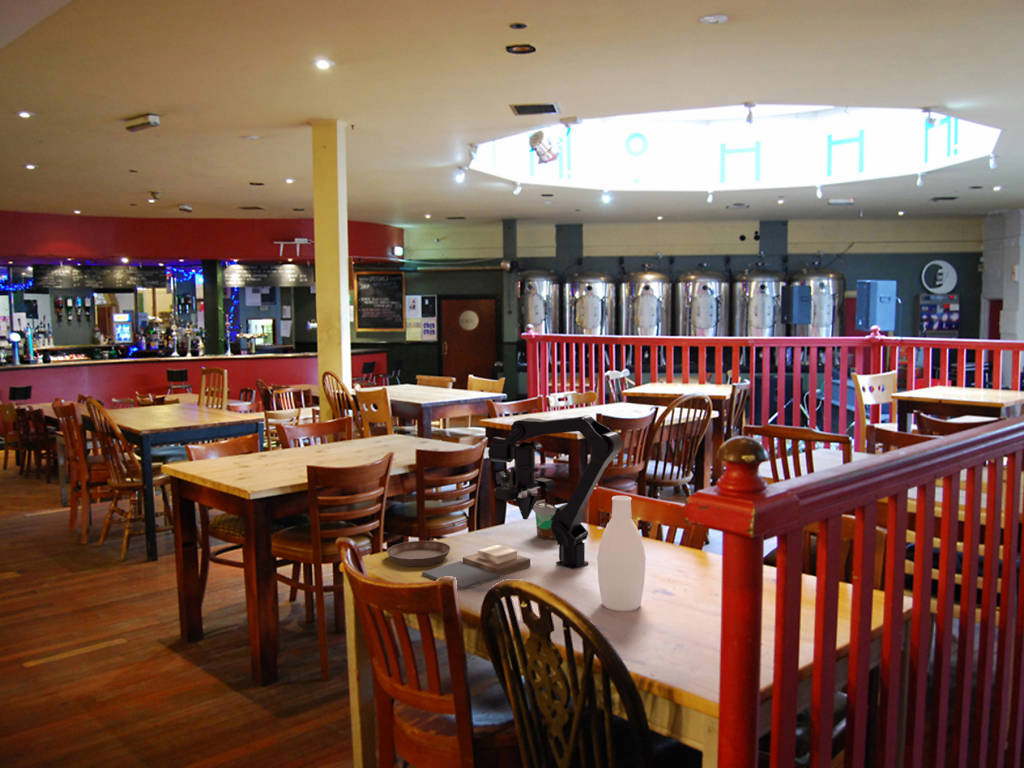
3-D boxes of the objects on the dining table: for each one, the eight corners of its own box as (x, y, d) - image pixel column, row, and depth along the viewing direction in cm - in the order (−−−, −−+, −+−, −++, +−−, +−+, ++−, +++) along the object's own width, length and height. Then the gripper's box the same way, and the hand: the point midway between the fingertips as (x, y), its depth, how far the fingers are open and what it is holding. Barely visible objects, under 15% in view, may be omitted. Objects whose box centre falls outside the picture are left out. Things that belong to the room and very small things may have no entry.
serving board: (530, 566, 214) (530, 558, 214) (497, 576, 206) (497, 569, 205) (495, 555, 224) (495, 548, 224) (462, 564, 216) (462, 557, 216)
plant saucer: (378, 555, 225) (378, 545, 225) (436, 546, 234) (436, 536, 233) (399, 573, 210) (399, 562, 210) (460, 563, 218) (460, 552, 218)
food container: (526, 533, 246) (526, 501, 245) (544, 530, 249) (543, 499, 248) (544, 543, 235) (544, 510, 234) (563, 540, 238) (562, 507, 237)
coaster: (517, 558, 214) (517, 550, 214) (498, 563, 210) (498, 556, 209) (497, 551, 220) (497, 544, 220) (478, 557, 215) (478, 550, 215)
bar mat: (500, 577, 205) (500, 574, 205) (461, 589, 196) (461, 586, 196) (460, 563, 216) (460, 560, 216) (422, 574, 208) (422, 571, 207)
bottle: (613, 592, 193) (613, 490, 191) (654, 603, 186) (655, 496, 184) (588, 606, 184) (587, 498, 182) (629, 617, 177) (630, 505, 175)
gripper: (528, 456, 232) (528, 508, 234) (480, 464, 219) (481, 520, 221) (555, 460, 224) (556, 515, 226) (507, 470, 211) (508, 527, 213)
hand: (525, 519), depth 221 cm, fingers closed
